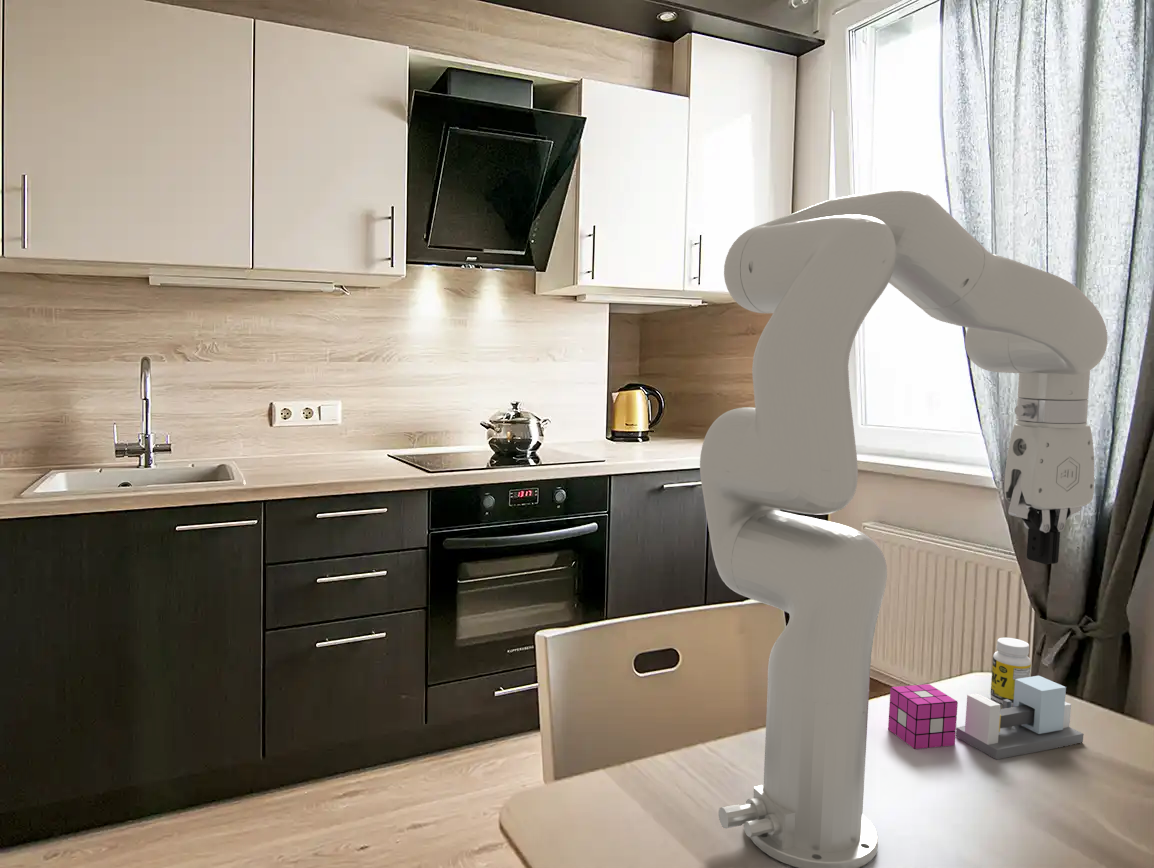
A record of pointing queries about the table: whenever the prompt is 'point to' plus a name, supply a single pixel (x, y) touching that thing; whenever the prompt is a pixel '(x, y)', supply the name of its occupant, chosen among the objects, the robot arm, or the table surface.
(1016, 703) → the sleeve
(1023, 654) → the supplement bottle
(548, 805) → the table surface
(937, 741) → the puzzle toy
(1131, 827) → the table surface
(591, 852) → the table surface
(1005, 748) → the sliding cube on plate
